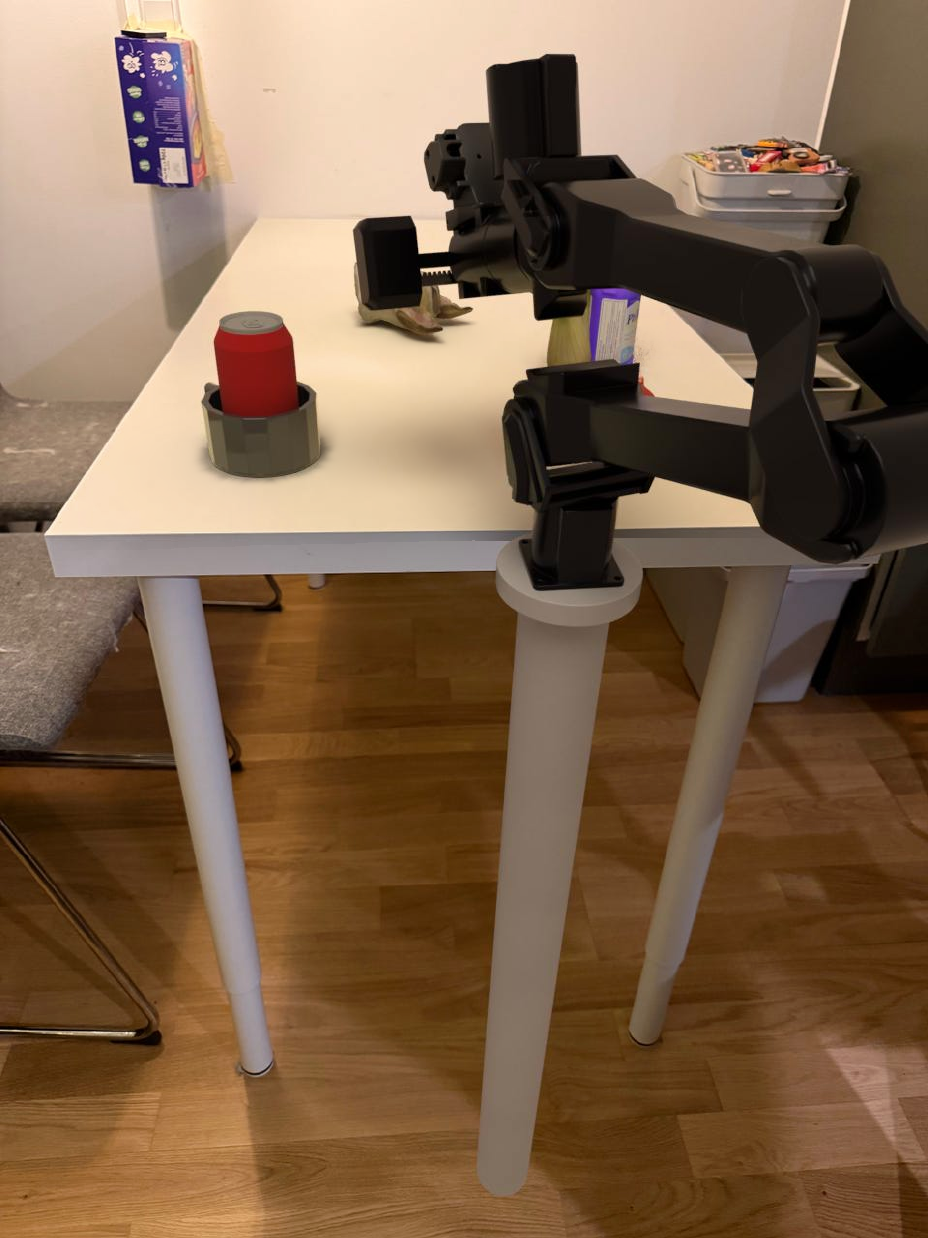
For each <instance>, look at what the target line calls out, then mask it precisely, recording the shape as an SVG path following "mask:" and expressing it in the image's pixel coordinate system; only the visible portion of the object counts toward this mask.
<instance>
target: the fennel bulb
mask: <svg viewBox="0 0 928 1238" xmlns="http://www.w3.org/2000/svg"><path fill="white" fill-rule="evenodd" d="M590 295H591V289H587V307H586V310H585V313H584V315H583V316H581V317H573V318H563V319H553V320H552V321H551V326H550V332H549V339H548V343H547V349H546V350H547V351H546V365H547V366H546V367H550V366H558V365H566V364H574V363H582V362H590V361H591V358H592V356H591V347H590V331H589V306H590Z"/></svg>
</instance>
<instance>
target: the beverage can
mask: <svg viewBox="0 0 928 1238" xmlns="http://www.w3.org/2000/svg"><path fill="white" fill-rule="evenodd" d="M218 323H219V326H218V328H217V330H216V333H215V334H214V335H215V336H214V338H213V341H212V342H213V349H214V357H215V365H216V366H215V367H216V372H217V381H218V385H219V388H220V396H221V403H222V410H223V412H224V413H226V414H232V415H238V416H269V415H275V414H281V413H286V412H289V411H292V410H294V409H297V408H299V402H298V390H297V381H298V379H297V370H296V369H297V368H296V359H295V357H296V356H295V350H294V349H295V347H294V338H293V336H292V334H291V332H290V331H289V329H288V328H287V326H286V324H285V323H284V319H283V316H281V315H279V314H277V313H274V312H270V311H260V310H248V311H238V312H234V313H229V314H226V315H224V316H222V317H221V318H220V319H219V320H218Z"/></svg>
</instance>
